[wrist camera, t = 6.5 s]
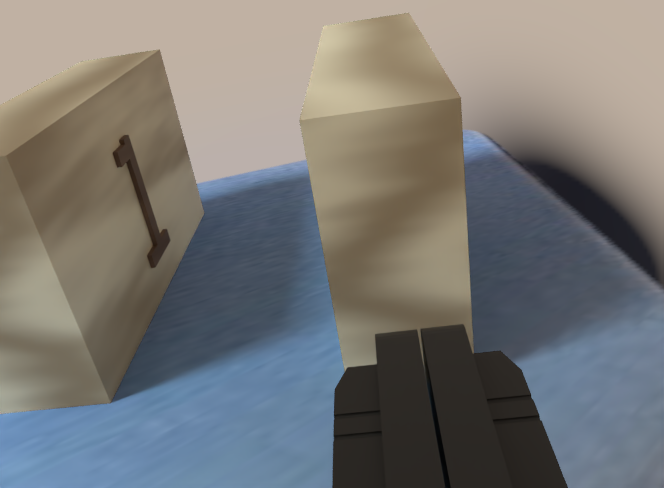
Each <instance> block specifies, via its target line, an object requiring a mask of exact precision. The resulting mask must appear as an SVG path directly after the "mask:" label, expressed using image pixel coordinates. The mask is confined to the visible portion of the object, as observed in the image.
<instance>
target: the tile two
mask: <svg viewBox="0 0 664 488" xmlns="http://www.w3.org/2000/svg"><path fill="white" fill-rule="evenodd" d="M461 113H462V112H461V97H460V96H459V94H458V92H457V91H456V89H455V87H454V86H453V84H452V82H451V81H450V79H449V78H448V76H447V75H446V73H445V71H444V69H443V68H442V66H441V65H440V63H439V61H438V60H437V58H436V57H435V55H434V53H433V51H432V50H431V48H430V47H429V45H428V43H427V42H426V40H425V39H424V37H423V35H422V33H421V32H420V30H419V29H418V27H417V25H416V24H415V22H414V20H413V19H412V17H411V15H410V14H409V13H404V14H398V15H392V16H385V17H379V18H372V19H366V20H360V21H353V22H346V23H341V24H334V25H327V26H323V30H322V34H321V38H320V41H319V45H318V50H317V53H316V57H315V61H314V65H313V69H312V73H311V77H310V81H309V85H308V89H307V93H306V97H305V101H304V104H303V109H302V112H301V116H300V126H301V131H302V137H303V142H304V148H305V154H306V159H307V165H308V170H309V176H310V181H311V187H312V192H313V198H314V204H315V209H316V215H317V220H318V226H319V231H320V237H321V242H322V248H323V254H324V259H325V265H326V270H327V276H328V281H329V287H330V292H331V298H332V304H333V309H334V315H335V320H336V326H337V331H338V337H339V342H340V348H341V354H342V359H343V365H344V370H345V371H346V369H347V367H355V366H364V365H374V364H377V358H376V344H375V334H379V333H388V332H397V331H406V330H414V329H417V331H418V337H419V342H420V348H421V354H422V359H423V352H422V342H421V329H422V328H431V327H440V326H448V325H457V324H464V326H465V329H466V332H467V335H468V339H469V342H470V346H471V349H472V352H473V354H474V347H473V328H472V308H471V289H470V269H469V249H468V230H467V210H466V191H465V171H464V151H463V132H462V114H461ZM423 365H424V362H423Z"/></svg>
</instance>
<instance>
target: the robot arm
mask: <svg viewBox="0 0 664 488" xmlns="http://www.w3.org/2000/svg"><path fill="white" fill-rule="evenodd" d="M421 342H422V352H423V359H422V354H421V348H420V342H419V337H418V331H417V329H414V330H406V331H397V332H388V333H379V334H375V344H376V358H377V364H374V365H364V366H355V367H347V369H346V371H345V373H344V374H343V376H342V378H341V380H340V381H339V383H338V385H337V387H336V388H335V398H334V418H335V420H334V442H333V486H332V488H568V487H567V484H566V482H565V479H564V477H563V474H562V472H561V469H560V467H559V464H558V462H557V459H556V456H555V454H554V451H553V449H552V446H551V444H550V441H549V439H548V436H547V434H546V431H545V429H544V426H543V423H542V421H540V418H539V413H538V411H537V408H536V406H535V403H534V401H533V399H532V398H531V393H530V391H529V388H528V385H527V383H526V380H525V378H524V375H523V373H522V370H521V369H520V368H519V367H518V366H516V365H515V364H514V363H513V362H512V361H511V360H510V359H509V358H508V357H507V356H506V355H504V354H503V353H502V352H501V351H492V352H483V353H474V354H473V352H472V349H471V346H470V342H469V339H468V335H467V332H466V329H465V326H464V324H457V325H448V326H440V327H431V328H422V329H421ZM423 362H424V365H423Z"/></svg>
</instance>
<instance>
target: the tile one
mask: <svg viewBox="0 0 664 488" xmlns="http://www.w3.org/2000/svg"><path fill="white" fill-rule="evenodd" d="M203 215H204V209H203V206H202V202H201V199H200V195H199V191H198V188H197V184H196V180H195V177H194V173H193V170H192V166H191V162H190V158H189V155H188V151H187V148H186V144H185V140H184V137H183V133H182V129H181V126H180V122H179V119H178V115H177V111H176V108H175V104H174V100H173V96H172V93H171V89H170V86H169V82H168V78H167V75H166V71H165V67H164V64H163V60H162V56H161V53H160V50H153V51H146V52H140V53H134V54H127V55H121V56H114V57H107V58H101V59H94V60H88V61H82V62H80V63H78V64H76V65H74V66H72V67H70V68H68V69H67V70H65V71H63V72H61V73H59V74H57V75H55V76H54V77H52V78H50V79H48V80H46V81H44V82H42V83H41V84H39V85H37V86H35V87H33V88H31V89H29V90H27V91H26V92H24V93H22V94H20V95H18V96H16V97H14V98H12V99H11V100H9V101H7V102H5V103H3V104H1V105H0V414H5V413H15V412H25V411H35V410H46V409H56V408H66V407H76V406H86V405H97V404H107V403H111V402H112V400H113V398H114V396H115V394H116V392H117V389H118V387H119V385H120V383H121V381H122V379H123V377H124V375H125V373H126V371H127V369H128V367H129V365H130V363H131V361H132V359H133V357H134V355H135V353H136V351H137V349H138V347H139V345H140V343H141V341H142V339H143V337H144V335H145V333H146V331H147V329H148V327H149V325H150V323H151V320H152V318H153V316H154V314H155V312H156V310H157V308H158V306H159V304H160V302H161V300H162V298H163V296H164V294H165V292H166V290H167V288H168V286H169V284H170V282H171V280H172V278H173V276H174V274H175V272H176V270H177V268H178V266H179V264H180V262H181V260H182V258H183V256H184V254H185V252H186V249H187V247H188V245H189V243H190V241H191V239H192V237H193V235H194V233H195V231H196V229H197V227H198V225H199V223H200V221H201V219H202V217H203Z"/></svg>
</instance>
